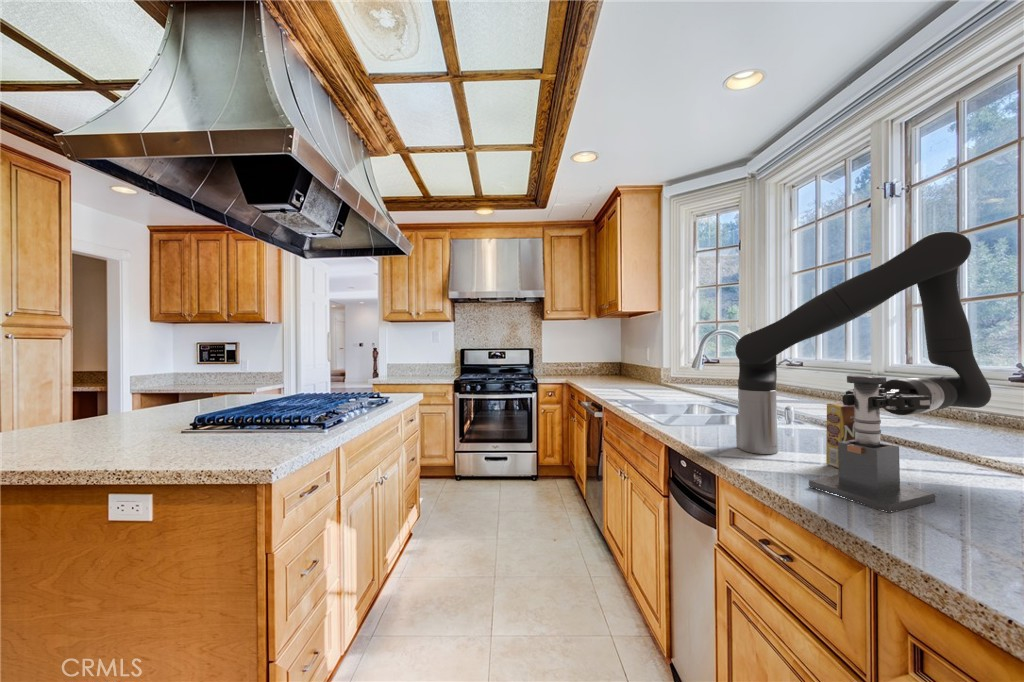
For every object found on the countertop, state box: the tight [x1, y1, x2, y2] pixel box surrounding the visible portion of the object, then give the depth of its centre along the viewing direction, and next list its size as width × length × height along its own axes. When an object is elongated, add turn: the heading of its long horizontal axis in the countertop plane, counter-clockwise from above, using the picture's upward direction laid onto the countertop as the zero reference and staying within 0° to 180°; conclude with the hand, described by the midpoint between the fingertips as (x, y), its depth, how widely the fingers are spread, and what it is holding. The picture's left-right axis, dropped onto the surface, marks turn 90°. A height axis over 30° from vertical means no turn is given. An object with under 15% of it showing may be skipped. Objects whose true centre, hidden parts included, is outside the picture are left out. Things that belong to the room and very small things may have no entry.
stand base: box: [808, 440, 936, 513], centre depth 82 cm, size 14×14×10 cm
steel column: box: [846, 375, 887, 448], centre depth 82 cm, size 6×6×21 cm
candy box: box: [825, 403, 855, 469], centre depth 99 cm, size 9×4×15 cm, turn 98°
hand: (857, 401), depth 81 cm, fingers closed on steel column, 3 cm apart
